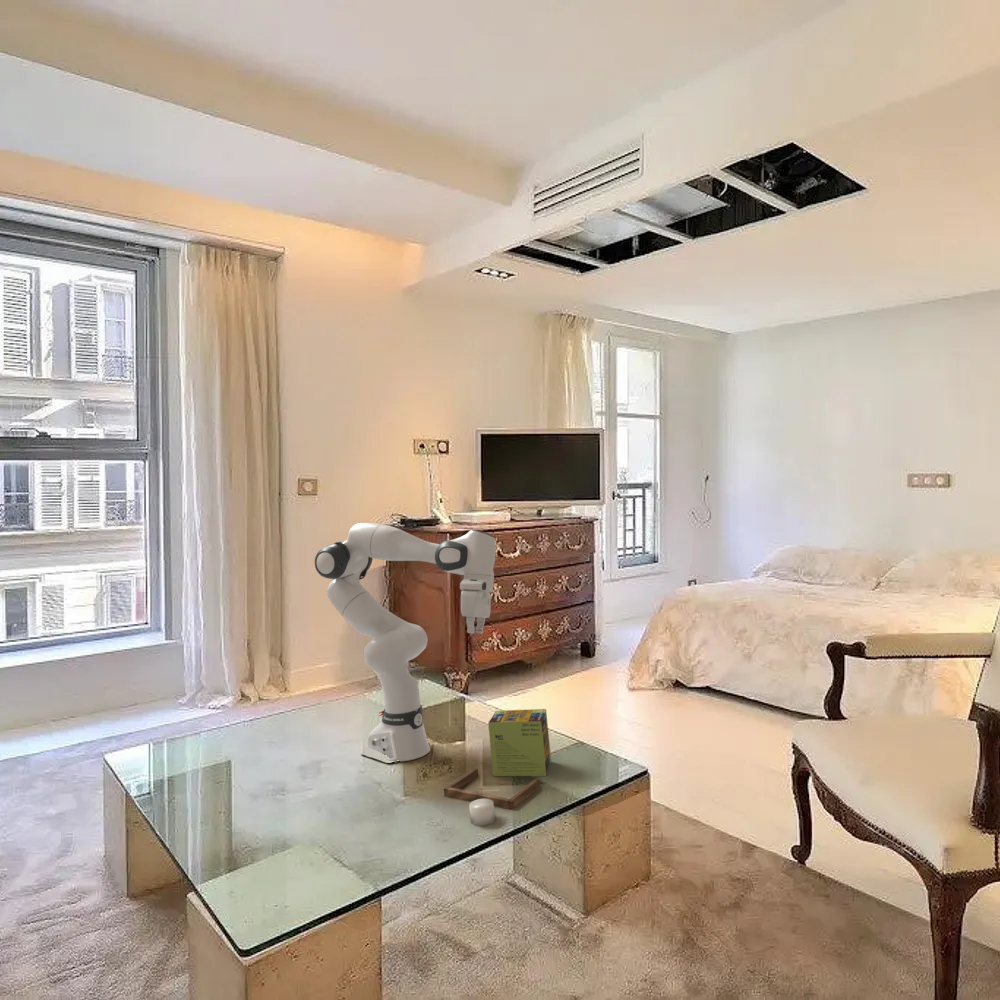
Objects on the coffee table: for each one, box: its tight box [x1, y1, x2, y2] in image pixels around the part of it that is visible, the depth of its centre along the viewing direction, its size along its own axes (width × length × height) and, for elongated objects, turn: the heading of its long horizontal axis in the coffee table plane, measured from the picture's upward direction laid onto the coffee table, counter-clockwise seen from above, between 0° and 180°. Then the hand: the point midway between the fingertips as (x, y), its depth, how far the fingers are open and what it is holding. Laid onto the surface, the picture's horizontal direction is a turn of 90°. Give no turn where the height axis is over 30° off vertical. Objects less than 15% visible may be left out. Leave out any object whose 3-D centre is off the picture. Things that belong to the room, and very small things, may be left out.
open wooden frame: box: [443, 767, 541, 810], centre depth 196 cm, size 21×14×2 cm, turn 57°
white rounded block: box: [468, 799, 496, 827], centre depth 180 cm, size 6×6×4 cm
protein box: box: [487, 708, 552, 777], centre depth 209 cm, size 10×15×16 cm
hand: (475, 633), depth 213 cm, fingers open, 8 cm apart
